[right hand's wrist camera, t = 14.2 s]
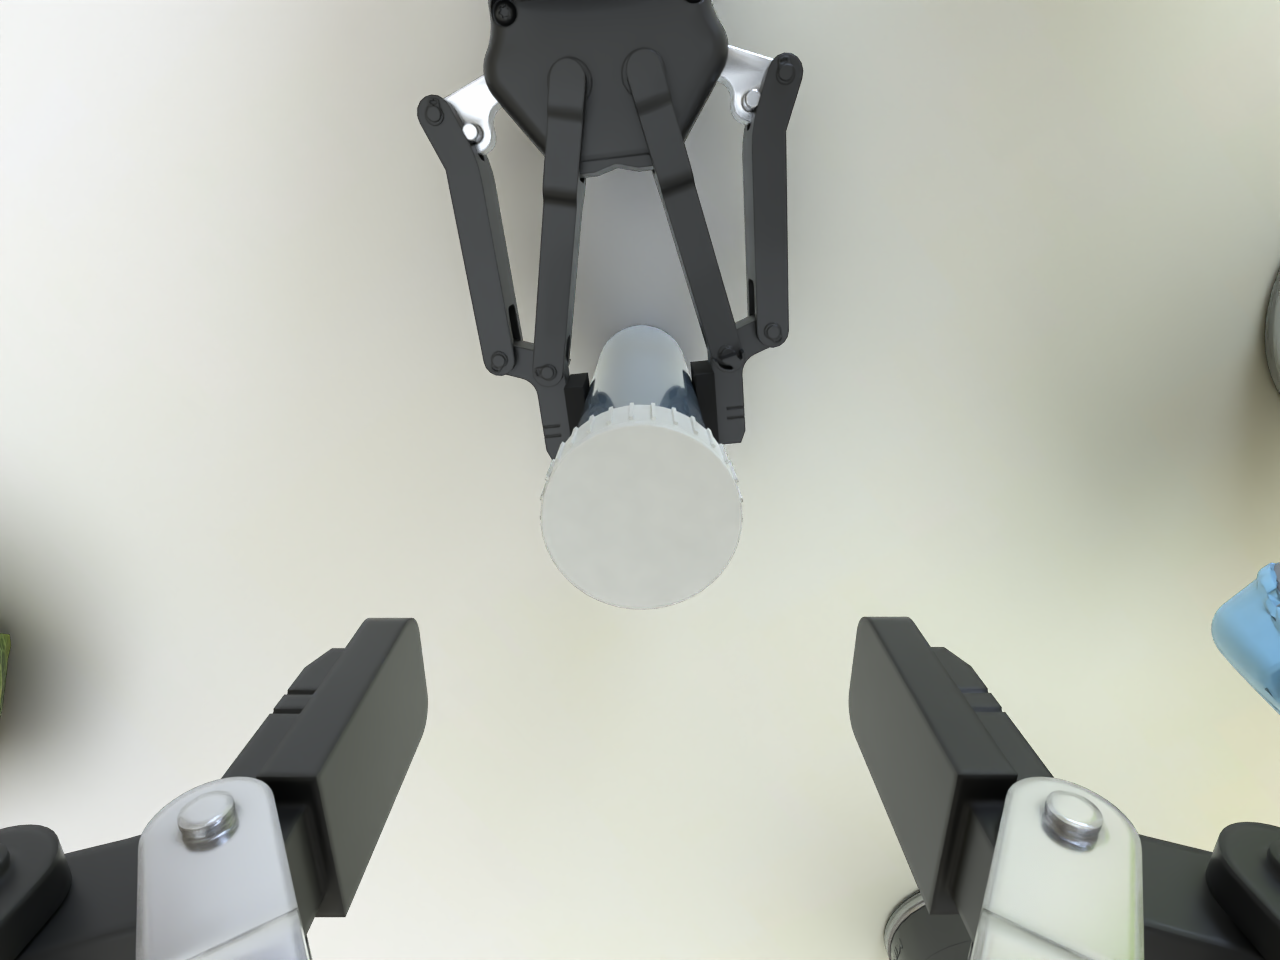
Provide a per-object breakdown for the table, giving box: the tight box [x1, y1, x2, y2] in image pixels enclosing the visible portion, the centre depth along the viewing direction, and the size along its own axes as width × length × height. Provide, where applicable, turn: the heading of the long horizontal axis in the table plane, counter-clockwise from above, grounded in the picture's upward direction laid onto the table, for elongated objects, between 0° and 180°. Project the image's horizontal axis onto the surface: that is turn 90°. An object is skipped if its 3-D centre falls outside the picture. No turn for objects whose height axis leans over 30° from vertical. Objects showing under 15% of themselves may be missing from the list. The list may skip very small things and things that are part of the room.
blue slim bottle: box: [577, 325, 707, 429], centre depth 26 cm, size 4×4×18 cm
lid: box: [540, 403, 743, 609], centre depth 18 cm, size 5×5×2 cm
